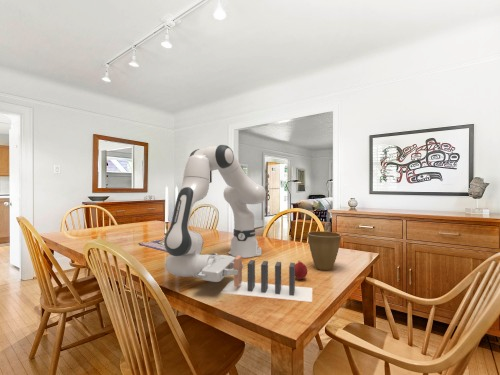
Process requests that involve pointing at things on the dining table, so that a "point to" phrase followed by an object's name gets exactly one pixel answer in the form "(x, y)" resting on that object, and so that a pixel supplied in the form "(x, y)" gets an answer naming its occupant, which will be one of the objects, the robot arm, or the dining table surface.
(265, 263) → the domino
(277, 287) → the domino
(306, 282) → the dining table surface
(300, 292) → the mat
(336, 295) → the dining table surface
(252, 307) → the dining table surface
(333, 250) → the plant pot
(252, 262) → the domino
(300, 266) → the onion
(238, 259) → the terracotta domino
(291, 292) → the domino
